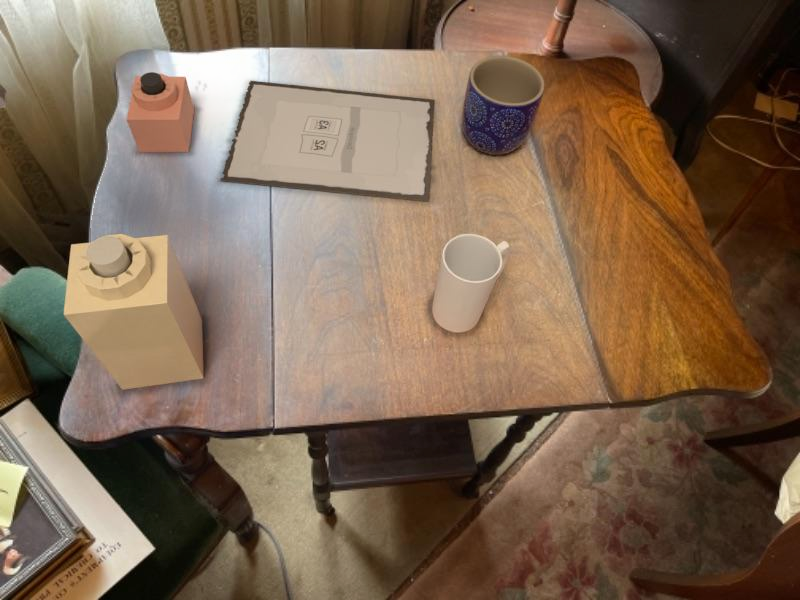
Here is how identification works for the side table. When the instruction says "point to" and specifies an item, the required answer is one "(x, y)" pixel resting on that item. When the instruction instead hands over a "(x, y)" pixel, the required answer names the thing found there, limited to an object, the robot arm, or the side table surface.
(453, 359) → the side table surface
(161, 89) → the black push button
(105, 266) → the grey push button
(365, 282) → the side table surface
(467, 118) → the planter
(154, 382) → the tan box with knob
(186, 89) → the orange push button box
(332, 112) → the picture frame
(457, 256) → the mug
